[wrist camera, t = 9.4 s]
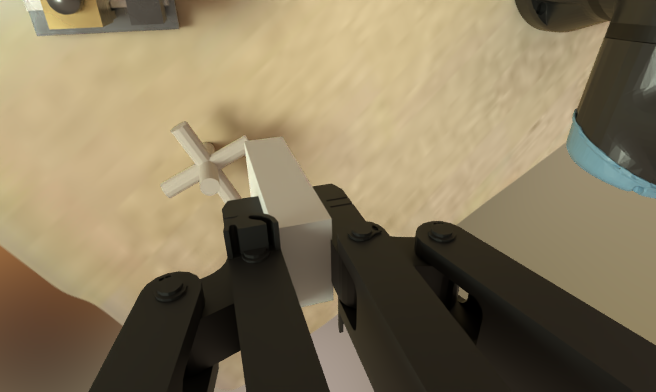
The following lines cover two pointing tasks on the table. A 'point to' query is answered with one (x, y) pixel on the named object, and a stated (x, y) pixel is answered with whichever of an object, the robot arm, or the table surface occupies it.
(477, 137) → the table surface
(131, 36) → the table surface
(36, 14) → the bolt plate
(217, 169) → the pipe connector
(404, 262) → the robot arm
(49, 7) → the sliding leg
